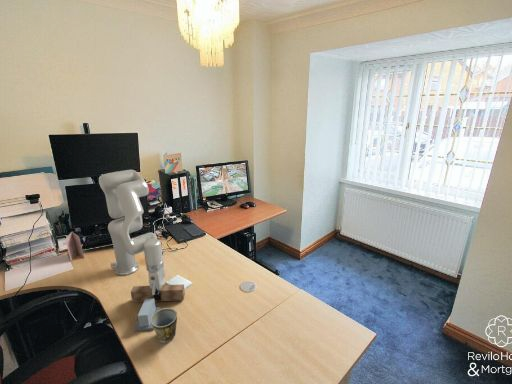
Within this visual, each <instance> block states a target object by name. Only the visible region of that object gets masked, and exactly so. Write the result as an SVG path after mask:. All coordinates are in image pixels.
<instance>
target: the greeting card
mask: <svg viewBox="0 0 512 384" xmlns="http://www.w3.org/2000/svg"><path fill="white" fill-rule="evenodd" d="M80 239H81V238H80V236H79V235H77V234H76V233H74V231H71V232H70V233H69V234H68V236H66V239H65V243H66V248H67V251H68V255H69V259H70V262H73V259H74V258H75V256H76V255H77V254H79V255H80V256H81V257H82V258H85V256H84V251H83V247H82V243H81V240H80Z"/></svg>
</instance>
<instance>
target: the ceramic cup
mask: <svg viewBox="0 0 512 384" xmlns="http://www.w3.org/2000/svg"><path fill="white" fill-rule="evenodd" d="M177 322H178V313H177V311H176V310H175V309H174V308H169V307H167V308H166V307H165V308H161V310H159V311H157V312H156V313H155V314H154V315H153V316H152V318H151V323H152V326H153V328H154V330H153V331H154V332H155V335H156V336H157V339H158V341H159V342H160V343H163V344H167V343H170V342H172V341H173V340H174V338H175V336H176V333H177V332H176V330H177Z"/></svg>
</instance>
